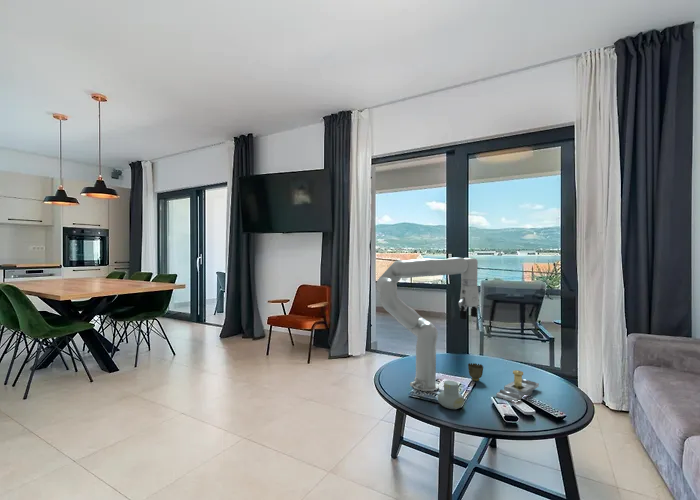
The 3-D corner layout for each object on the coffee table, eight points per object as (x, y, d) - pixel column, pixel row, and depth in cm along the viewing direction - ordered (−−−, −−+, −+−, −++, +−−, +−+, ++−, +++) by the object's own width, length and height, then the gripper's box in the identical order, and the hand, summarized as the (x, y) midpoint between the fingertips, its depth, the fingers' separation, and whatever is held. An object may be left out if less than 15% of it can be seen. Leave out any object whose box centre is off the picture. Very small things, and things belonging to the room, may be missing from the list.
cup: (484, 384, 174) (484, 367, 174) (468, 382, 176) (469, 366, 176) (481, 378, 182) (482, 363, 182) (467, 377, 183) (467, 362, 183)
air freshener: (452, 400, 155) (452, 377, 155) (467, 407, 148) (467, 383, 148) (434, 405, 149) (434, 382, 149) (449, 413, 142) (449, 388, 142)
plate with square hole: (516, 403, 152) (516, 393, 152) (496, 396, 159) (496, 387, 159) (538, 389, 168) (538, 381, 168) (519, 384, 175) (519, 376, 175)
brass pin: (520, 396, 160) (520, 374, 160) (510, 392, 164) (511, 371, 164) (524, 393, 163) (524, 372, 163) (515, 390, 167) (515, 369, 167)
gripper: (466, 284, 164) (466, 321, 164) (485, 282, 175) (484, 317, 175) (452, 283, 170) (452, 318, 170) (471, 281, 181) (471, 314, 181)
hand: (468, 317), depth 172 cm, fingers open, 9 cm apart
